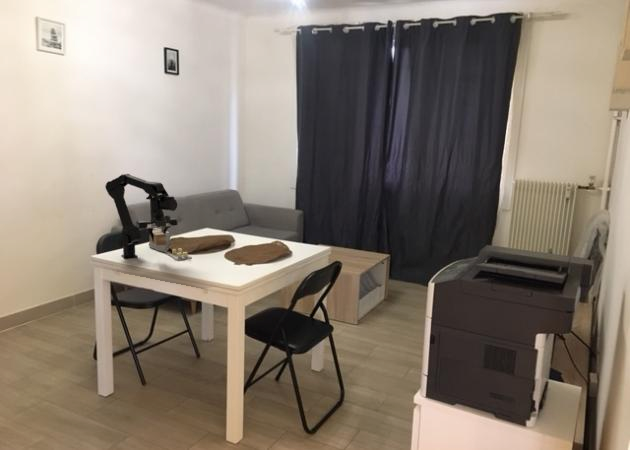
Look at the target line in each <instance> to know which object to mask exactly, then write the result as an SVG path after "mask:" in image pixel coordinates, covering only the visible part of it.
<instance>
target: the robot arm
mask: <svg viewBox="0 0 630 450" xmlns="http://www.w3.org/2000/svg"><path fill="white" fill-rule="evenodd" d="M127 185H130V186H133V187H135V188H137V189H138V188H139V189H141V190H142V191H144V193H146V194H147V195H148V196H147V197H146V198H145V200H149V206H150V207H149V209H150V210H149V213H150V219H149V220H150V221H146V220H136V222H135V224H134V223H133V220H132V218H131V214H130V212H129V208H128V206H127V202H126V200H125V192H126V190H125V187H126V186H127ZM105 190H106V192H107V194H108V196H110V197H111V199H113V202H114V204H115V207H116V210H117V214H118V217H119V219H120V224H121V225H122V229H121V238H120V240H118V241H117V243H118V246H119V247H122V253H123V254H121V257H122V258H123V259H132V258H138V255H137V254H136V245H137V244H139V241H140V239H141V237H142V236H141V234H142V232H141V231H140V230H141V229H145V230H146V231H147V232H148V235H150V237H151V239H152V241H153V229H154V228H153V226H156V228H160V227H161V228H160V229H161V232H163V233H164V234H165V233H166V231H167V232H168V229H170V228H171V226H178V220H177V218H174V217H171V216H170V215H165V213H164V211H171V212H174V211H176V210H177V207H178V202H177V200H176V198H175V196H172V195H171V196H170V195H169V194H168V192H167V190H166V188H165V187H164V184H163V183H161V182H158V181H147V180H145V179H143V178H140V177H138V176H137V177H136V176H134V175H131V174H129V173H125V174H124V173H123V174H120V175H119V176H118V177H116V178H114V179H112V180H110V181H107V182H106V183H105ZM163 210H164V211H163Z"/></svg>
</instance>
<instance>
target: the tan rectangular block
mask: <svg viewBox="0 0 630 450" xmlns="http://www.w3.org/2000/svg"><path fill="white" fill-rule="evenodd" d="M148 235H149V234H148ZM148 237H149V238H148V239H149V242H150V241H151V242H152V243H154V244H155V245H157V246H160V245H166V234H164V233H163V232H161V231H159V230H153V241H152V239H151V237H150V235H149V236H148Z"/></svg>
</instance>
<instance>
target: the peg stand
mask: <svg viewBox="0 0 630 450" xmlns="http://www.w3.org/2000/svg"><path fill="white" fill-rule="evenodd" d="M171 250H172V251H171V252H172V253H168V256H169V257H171V258H172V259H174V260H175V261H184V260H190V259H191V260H192V257H191V256H190V255H189V254H188V252H187V251H183V248H177V249H176V248H173V249H172V248H171ZM182 252H183V253H182Z"/></svg>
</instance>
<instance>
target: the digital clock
mask: <svg viewBox="0 0 630 450" xmlns="http://www.w3.org/2000/svg"><path fill="white" fill-rule="evenodd" d="M153 230H159V231H161V228H159V227H154V228H153ZM165 234H166V245H160V246H157V245H155V244H154V243H152V242H151V241H150V240H149V243H148V247H149V248H151V249H152V250H156V251H158V252H160V253H161V252H162V253H166V252H167V251H169V250H168V249H167V248H168V247H169V246H171V247H172V242H171V237H172V233H171V232H169V231H168V230H167V231H166V233H165Z"/></svg>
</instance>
